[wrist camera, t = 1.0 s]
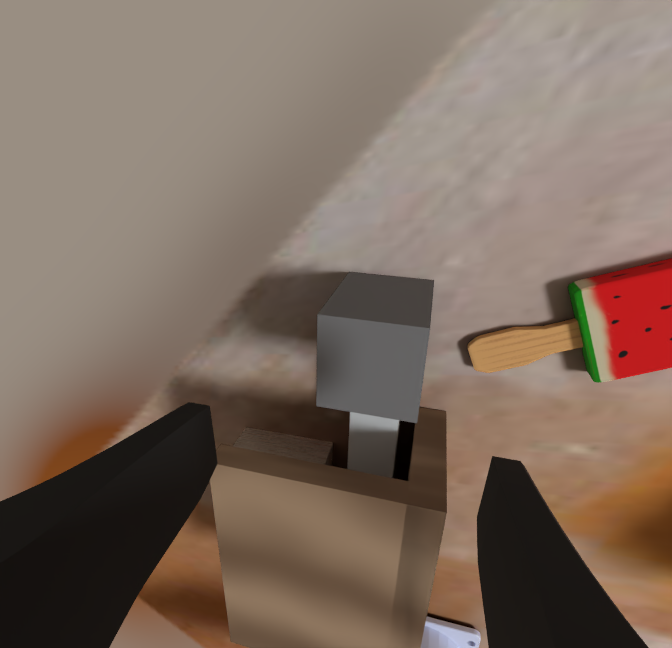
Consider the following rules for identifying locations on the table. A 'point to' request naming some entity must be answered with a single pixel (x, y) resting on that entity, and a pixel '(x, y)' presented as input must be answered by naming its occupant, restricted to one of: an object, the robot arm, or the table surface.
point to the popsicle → (597, 327)
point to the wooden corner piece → (330, 546)
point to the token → (286, 445)
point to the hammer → (374, 361)
